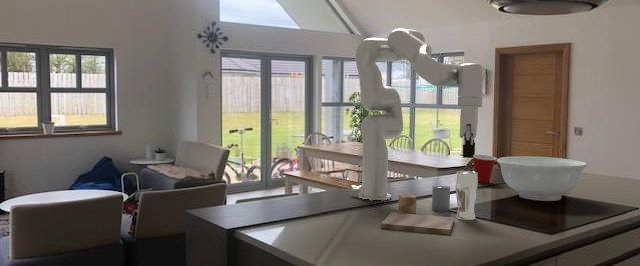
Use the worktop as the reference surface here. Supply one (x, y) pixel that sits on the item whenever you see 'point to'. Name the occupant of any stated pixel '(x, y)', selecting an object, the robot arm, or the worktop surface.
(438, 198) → the cylinder
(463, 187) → the beer glass
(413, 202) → the teak block
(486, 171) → the plastic cup
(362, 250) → the worktop surface
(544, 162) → the bowl
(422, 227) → the walnut board
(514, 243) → the worktop surface
